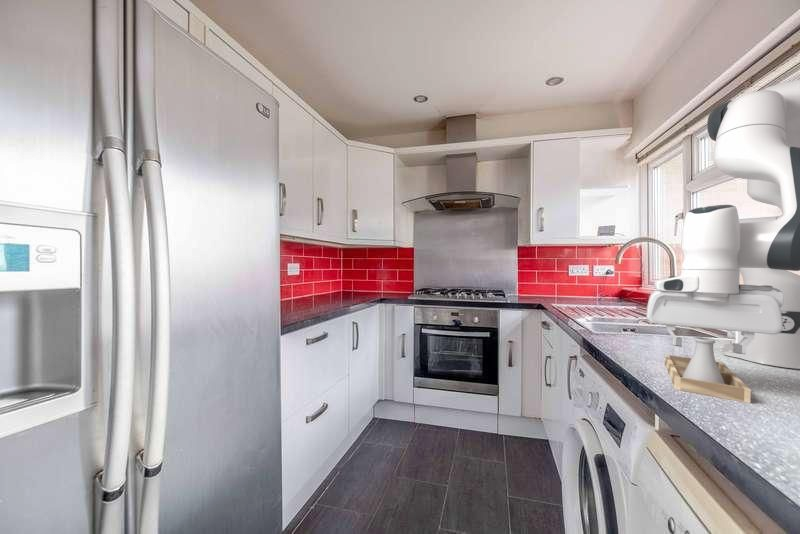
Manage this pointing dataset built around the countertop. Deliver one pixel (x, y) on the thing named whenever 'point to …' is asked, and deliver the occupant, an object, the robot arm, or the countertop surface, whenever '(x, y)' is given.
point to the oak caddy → (729, 390)
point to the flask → (703, 362)
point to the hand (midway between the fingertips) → (706, 349)
